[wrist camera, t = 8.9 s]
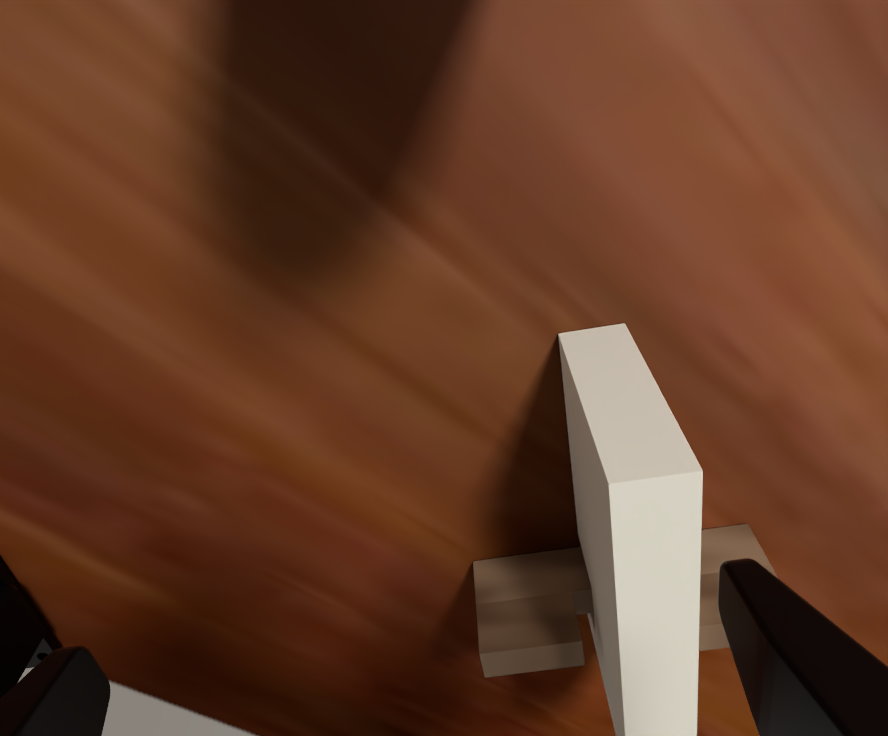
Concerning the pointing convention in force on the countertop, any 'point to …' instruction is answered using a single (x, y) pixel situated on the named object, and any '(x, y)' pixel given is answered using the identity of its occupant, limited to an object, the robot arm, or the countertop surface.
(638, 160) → the countertop surface
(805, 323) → the countertop surface
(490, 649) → the brown wooden flat piece
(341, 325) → the countertop surface
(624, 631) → the cream plate
